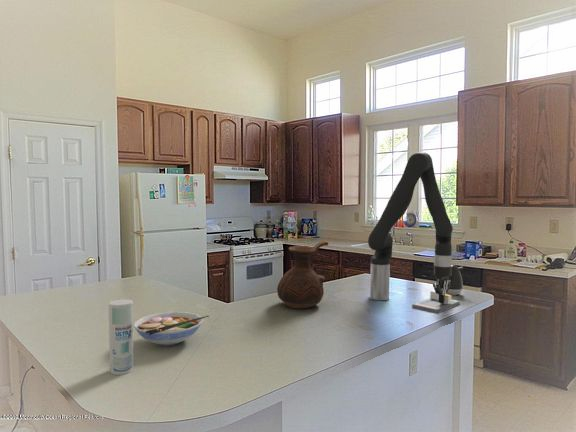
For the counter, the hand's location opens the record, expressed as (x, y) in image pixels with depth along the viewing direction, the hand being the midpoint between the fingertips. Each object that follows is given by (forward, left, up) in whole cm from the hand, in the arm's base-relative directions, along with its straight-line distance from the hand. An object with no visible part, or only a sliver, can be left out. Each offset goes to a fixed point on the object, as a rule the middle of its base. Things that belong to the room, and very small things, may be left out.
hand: (441, 302), depth 192 cm
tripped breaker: (+2, +3, -1) cm, 4 cm away
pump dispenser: (+12, +29, -3) cm, 31 cm away
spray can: (-107, -84, -3) cm, 137 cm away
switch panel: (-1, +4, -3) cm, 5 cm away
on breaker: (0, +11, -1) cm, 11 cm away
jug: (-63, -5, -3) cm, 64 cm away
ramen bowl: (-103, -60, -3) cm, 120 cm away
